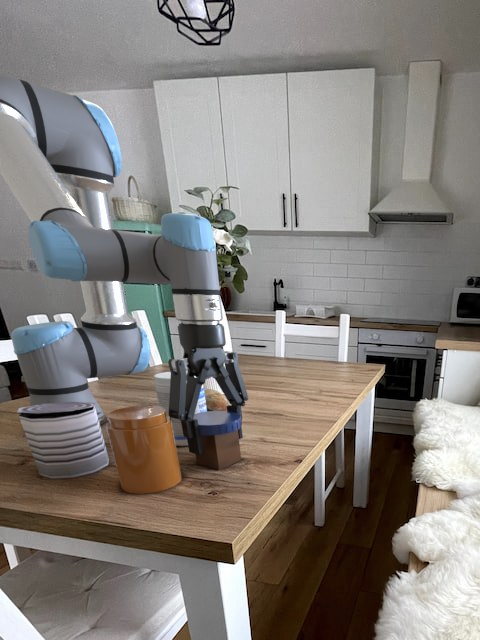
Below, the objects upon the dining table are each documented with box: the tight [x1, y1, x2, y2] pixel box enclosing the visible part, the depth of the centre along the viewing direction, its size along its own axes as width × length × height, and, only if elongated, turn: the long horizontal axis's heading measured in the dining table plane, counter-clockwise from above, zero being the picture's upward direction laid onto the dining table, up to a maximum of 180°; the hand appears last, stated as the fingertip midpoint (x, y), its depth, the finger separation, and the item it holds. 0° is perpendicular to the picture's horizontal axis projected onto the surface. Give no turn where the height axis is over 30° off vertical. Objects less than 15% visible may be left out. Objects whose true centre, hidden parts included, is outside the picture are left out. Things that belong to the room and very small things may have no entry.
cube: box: [194, 430, 242, 471], centre depth 77 cm, size 6×6×7 cm
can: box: [15, 402, 110, 480], centre depth 72 cm, size 11×11×12 cm
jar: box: [105, 405, 183, 495], centre depth 67 cm, size 10×10×13 cm
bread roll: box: [204, 388, 230, 411], centre depth 110 cm, size 10×10×8 cm
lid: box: [193, 411, 243, 435], centre depth 75 cm, size 10×10×2 cm
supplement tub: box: [153, 370, 207, 447], centre depth 86 cm, size 10×10×15 cm
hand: (217, 444), depth 77 cm, fingers closed on lid, 10 cm apart
